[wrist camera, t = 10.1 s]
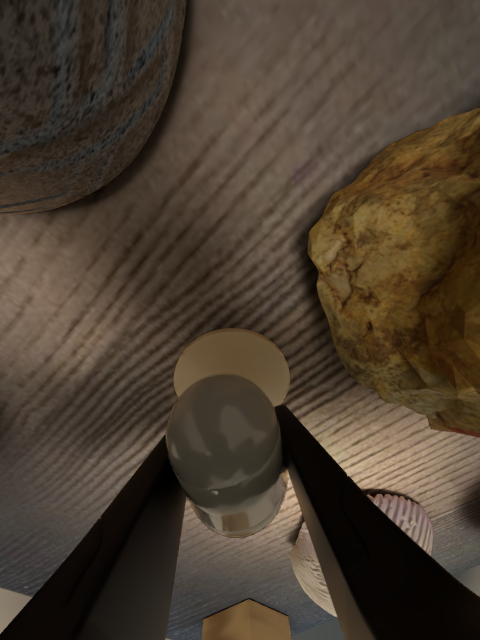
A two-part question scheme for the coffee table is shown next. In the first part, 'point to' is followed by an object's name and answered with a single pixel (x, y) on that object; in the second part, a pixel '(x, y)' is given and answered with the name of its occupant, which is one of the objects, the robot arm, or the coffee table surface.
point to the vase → (79, 93)
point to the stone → (228, 454)
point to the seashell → (394, 507)
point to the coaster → (235, 361)
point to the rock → (410, 273)
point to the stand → (247, 623)
